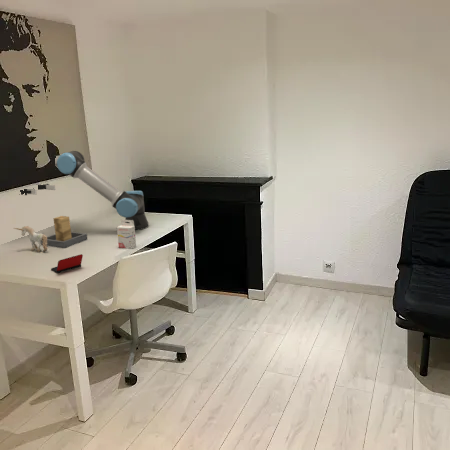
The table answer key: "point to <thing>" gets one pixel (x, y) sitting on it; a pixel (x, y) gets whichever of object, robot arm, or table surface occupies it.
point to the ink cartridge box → (126, 234)
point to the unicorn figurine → (35, 238)
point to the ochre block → (62, 228)
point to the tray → (63, 244)
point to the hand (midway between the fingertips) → (45, 189)
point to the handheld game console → (68, 264)
